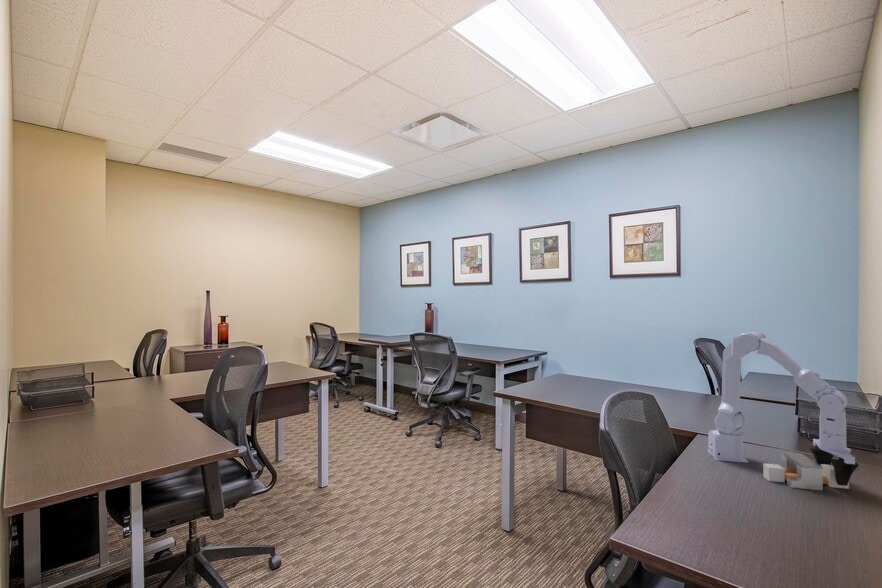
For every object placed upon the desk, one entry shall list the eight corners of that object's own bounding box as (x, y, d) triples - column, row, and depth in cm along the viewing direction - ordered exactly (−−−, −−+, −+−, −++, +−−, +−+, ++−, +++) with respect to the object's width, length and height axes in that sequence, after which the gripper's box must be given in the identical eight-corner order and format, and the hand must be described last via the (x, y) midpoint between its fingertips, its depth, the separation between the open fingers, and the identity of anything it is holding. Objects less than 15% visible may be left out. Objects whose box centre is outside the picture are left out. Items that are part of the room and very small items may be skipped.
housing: (791, 487, 119) (791, 464, 119) (772, 472, 128) (772, 451, 128) (822, 490, 117) (822, 466, 117) (801, 475, 127) (801, 453, 127)
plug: (769, 481, 123) (769, 464, 122) (762, 475, 126) (762, 459, 126) (849, 488, 118) (848, 471, 118) (839, 482, 122) (839, 465, 122)
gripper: (868, 442, 112) (868, 492, 112) (832, 425, 127) (832, 469, 127) (837, 440, 114) (837, 489, 114) (804, 424, 128) (805, 467, 128)
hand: (832, 479), depth 120 cm, fingers open, 7 cm apart
